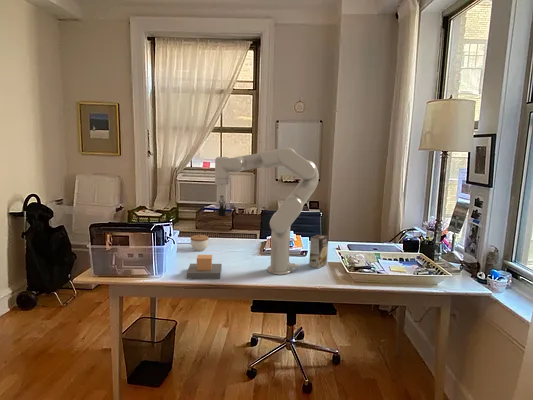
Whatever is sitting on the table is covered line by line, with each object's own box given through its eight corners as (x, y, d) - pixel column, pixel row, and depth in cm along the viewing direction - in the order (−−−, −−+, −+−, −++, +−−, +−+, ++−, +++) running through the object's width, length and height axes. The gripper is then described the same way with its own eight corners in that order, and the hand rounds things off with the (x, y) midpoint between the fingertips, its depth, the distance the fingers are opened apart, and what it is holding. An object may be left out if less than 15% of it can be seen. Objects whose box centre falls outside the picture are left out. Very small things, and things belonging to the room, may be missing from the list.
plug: (212, 269, 199) (212, 254, 198) (211, 274, 194) (211, 258, 192) (198, 269, 199) (198, 254, 198) (196, 274, 193) (196, 258, 192)
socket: (221, 269, 204) (221, 263, 203) (220, 279, 190) (220, 273, 190) (190, 269, 203) (190, 263, 202) (186, 278, 189) (186, 273, 189)
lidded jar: (187, 251, 233) (187, 235, 232) (194, 246, 244) (194, 231, 242) (204, 252, 231) (204, 237, 230) (211, 247, 241) (211, 233, 240)
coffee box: (319, 268, 208) (320, 239, 206) (308, 266, 212) (310, 237, 209) (327, 264, 216) (328, 236, 213) (316, 262, 220) (318, 234, 217)
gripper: (216, 179, 209) (216, 210, 211) (213, 183, 192) (213, 217, 194) (230, 179, 209) (230, 211, 212) (229, 183, 192) (228, 217, 195)
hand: (222, 214), depth 203 cm, fingers open, 9 cm apart
